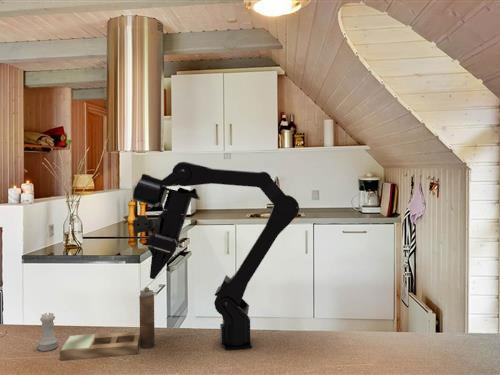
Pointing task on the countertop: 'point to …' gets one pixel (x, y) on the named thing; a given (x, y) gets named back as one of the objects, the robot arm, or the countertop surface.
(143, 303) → the pepper mill
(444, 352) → the countertop surface
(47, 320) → the rook chess piece
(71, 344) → the board
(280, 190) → the robot arm
